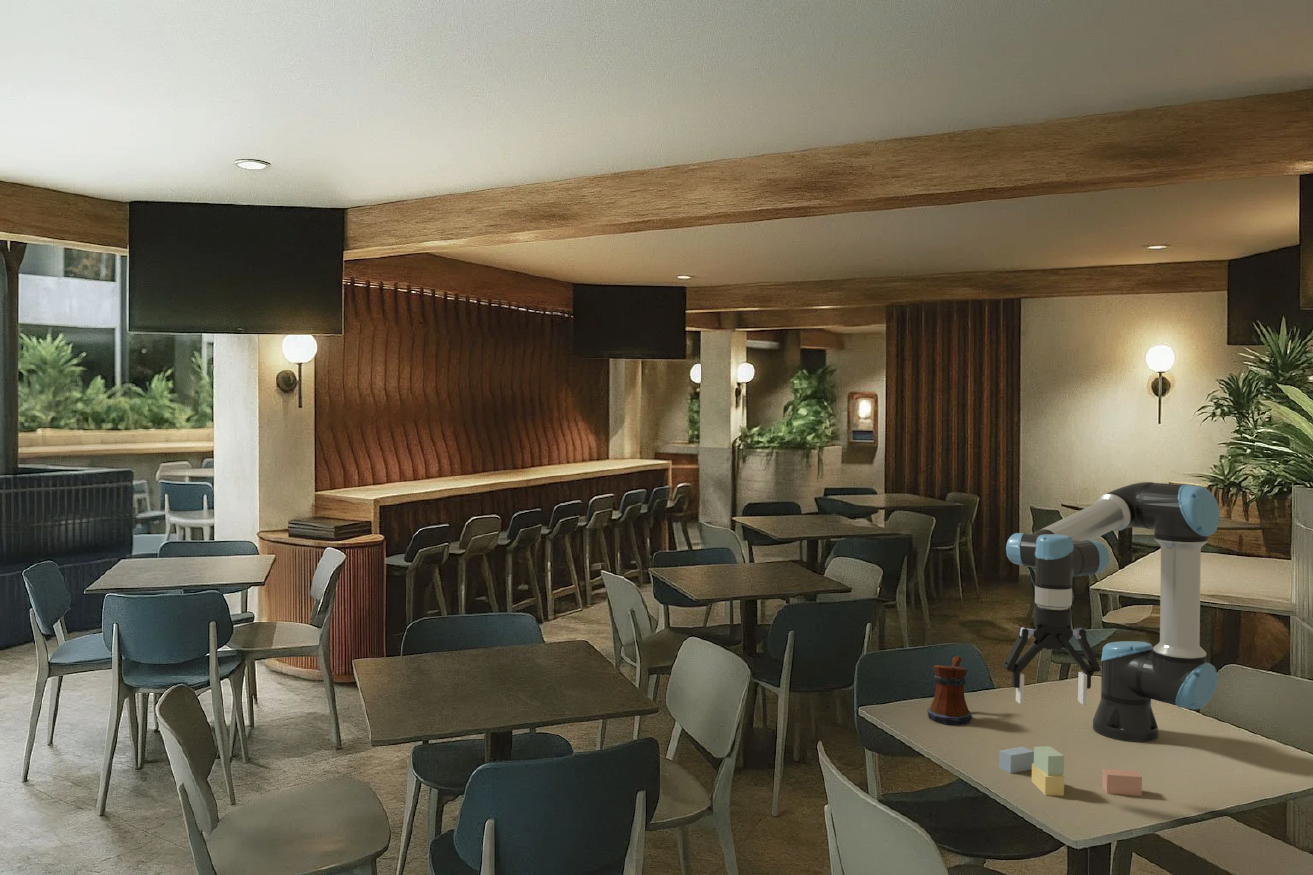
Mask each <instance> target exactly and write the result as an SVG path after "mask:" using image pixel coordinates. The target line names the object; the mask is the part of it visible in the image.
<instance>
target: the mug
mask: <svg viewBox="0 0 1313 875" xmlns="http://www.w3.org/2000/svg"><path fill="white" fill-rule="evenodd" d="M951 660H952V664H951V665H940V664H939V665H938V664H935V665H934V666H933V667H932V668H933V671H934V674H935V675H934V677H933V679H934V681H935V684H936V685H935V689H934V690H935V693H934V697H933V700H932V702H931V704H930V707H928V708H927V710H926V712H927V717H928V719H929V720H930V719H931V721H932V720H933V722H934V721H935V723H937V722H938V724H942V725H944V726H946V725H947V726H962V725H963V726H965V725H967V724H969V723H970V722H971V721H972V718H973V716H972V712H971V711H970V710H969V708H968V704H967V702H966V698H965V689H964V686H965V685H966V682H967V681H966V678H965V676H966V674H967V673H968V670H967V669H966V668H965V667H961V666H960V665H961V663H962V661H963V659H962V658H961V656H960V655H955V656H954V657H952V659H951ZM959 666H960V667H959Z"/></svg>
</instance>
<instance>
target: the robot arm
mask: <svg viewBox="0 0 1313 875" xmlns="http://www.w3.org/2000/svg"><path fill="white" fill-rule="evenodd" d="M1219 523H1220V508H1219V505H1218V501H1217V499H1216V497H1215V496H1214V494H1213V493H1212V491H1210V490H1209V489H1207V488H1206V487H1203V486H1197V485H1192V484H1183V483H1182V484H1181V483H1165V482H1152V481H1151V482H1150V481H1145V482H1144V481H1142V482H1137V483H1136V482H1135V483H1131V484H1128V485H1125V486H1121V487H1119V488H1116V489H1114V490H1111V491H1108V492H1107V493H1104V494H1102V495H1101V496H1099V497H1098V498H1097V499H1096V501H1095V503H1094V504H1092V505H1089V506H1086V507H1085V508H1083V509H1080V510H1078V511H1077V512H1074V513H1073V514H1070V515H1069V516H1066V517H1064V518H1062V519H1060V520H1057V521H1056V522H1054V523H1051V524H1049V525H1047V526H1045V527H1043V528H1041V529H1039V530H1037V531H1034V532H1031V533H1026V532H1021V533H1019V532H1015V533H1013V534H1012V535H1011V536H1010V537H1009V538H1008V539H1007V542H1006V544H1005V546H1006V547H1005V551H1006V557H1007V558H1008V560H1009V561H1010V562H1011V563H1012V564H1014V565H1019V566H1022V567H1026V568H1027V567H1028V568H1034V569H1035V581H1034V584H1035V585H1034V603H1035V604H1036V605H1035V606H1034V614H1033V615H1034V617H1033V621H1034V622H1033V623H1034V625H1033V628H1025V627H1024V626H1020V627H1019V628H1018V634H1017V635H1018V636H1017V638H1016V640H1015V642H1014V644H1013V645H1012V647H1011V649H1010V651H1009V653H1008V655H1007V657H1006V659H1005V661H1004V663H1003V666H1002V667H1003V668H1004V669H1005V670H1008V672H1011V685H1012V687H1013V688H1014V689H1015V701H1016V702H1017V703H1018V704H1019V705H1024V704H1025V703H1024V702H1025V701H1024V700H1025V674H1024V673H1023V672H1022V671H1023V670H1024V669H1026V667H1027V666H1028V665H1029V663H1031V662H1032V660H1033V659H1034V658H1035V657H1036V656H1037V654H1039V652H1041V651H1042V650H1043V649H1046V650H1057V651H1058V650H1062V649H1064V650H1065V651H1066V653H1067V654H1068V655H1069V656H1070V657H1071V659H1072V660H1073V661H1074V662H1075V663H1076V665H1077V666H1078V667H1079V668H1080V670H1082V671H1078V675H1077V676H1078V677H1077V678H1078V679H1077V680H1078V681H1077V682H1078V686H1077V702H1079V703H1080V704H1081V705H1083V706H1087V699H1088V698H1087V695H1088V692H1087V691H1088V690H1089V689H1091V687H1092V676H1093V675H1094V673H1096V672H1097V673H1098V672H1100V671H1101V672H1100V674H1101V680H1100V681H1101V682H1100V683H1101V684H1100V686H1101V687H1100V690H1101V691H1100V701H1099V704H1098V706H1097V708H1096V711H1095V713H1094V717H1093V718H1092V729H1093V731H1094V732H1096V733H1097V734H1100V735H1102V736H1105V737H1108V738H1112V739H1115V740H1121V741H1129V742H1149V741H1153V740H1156V739H1158V737H1159V728H1158V727H1159V726H1158V724H1157V721H1156V718H1155V714H1154V711H1153V708H1152V700H1153V701H1157V702H1162V703H1164V704H1165V703H1166V704H1169V705H1172V706H1176V707H1177V708H1180V709H1182V708H1184V709H1189V710H1200V709H1202V708H1204V707H1205V706H1206V705H1208V704H1209V702H1210V701H1211V699H1212V698H1213V697H1214V693H1215V691H1216V689H1217V684H1218V671H1217V669H1216V667H1215V666H1214V665H1213V664H1211V663H1210V662H1207V652H1206V651H1205V649H1203V648H1202V647H1201V646H1200V645H1201V644H1200V641H1201V640H1200V638H1201V636H1200V635H1201V634H1200V633H1201V630H1200V629H1201V628H1200V627H1201V623H1200V622H1201V620H1200V619H1201V562H1202V561H1201V556H1202V555H1201V552H1202V551H1201V550H1202V547H1203V546H1204V545H1207V543H1208V542H1209V536H1212V535H1213V534H1215V532H1216V531H1217V529H1218V525H1219ZM1129 528H1135V529H1136V528H1137V529H1138V528H1139V529H1148V530H1152V531H1153V539H1154V541H1156V542H1157V543H1158V544H1159V545H1160V589H1159V590H1160V596H1159V598H1160V601H1159V603H1160V605H1159V609H1160V610H1159V612H1160V614H1159V616H1160V617H1159V642H1158V643H1157V644H1155V645H1154V646H1153V644H1151V643H1149V642H1146V641H1136V640H1135V641H1128V640H1126V641H1125V640H1123V641H1112V642H1108V643H1106V644H1105V645H1103V647H1102V652H1101V659H1100V661H1101V666H1100V664H1099V662H1098V660H1097V658H1096V656H1095V654H1094V651H1093V650H1092V648H1091V646H1090V644H1089V641H1088V639H1087V630H1086V629H1084V628H1081V627H1079V626H1078V627H1076V628H1072V613H1073V610H1072V609H1071V608H1070V607H1071V606H1072V604H1073V577H1082V576H1093V575H1096V574H1099V573H1102V572H1103V571H1105V570H1106V568H1108V565H1109V562H1110V554H1109V550H1108V549H1107V547H1106V546H1105V545H1104V544H1103V543H1102V542H1100V541H1098V540H1095V539H1097V538H1099V537H1101V536H1103V535H1105V534H1107V533H1110V532H1111V531H1113V532H1118V531H1119V532H1120V531H1123V530H1125V529H1129ZM1031 636H1033V638H1034V640H1033V641H1032V642H1031V643H1030V646H1029V647H1028V648H1027V649H1026V650H1025V651H1024V653H1022V652H1023V650H1024V648H1025V646H1026V644H1027V642H1028V640H1029V639H1030V638H1031ZM1073 636H1074V638H1075V639H1077V642H1078V643H1079V644H1078V645H1079V646H1080V648H1081V651H1082V652H1083V654H1084V657H1085V659H1086V660H1087V663H1088V664H1087V663H1086V661H1085V660H1084V659H1083V658H1082V656H1080V654H1079V653H1078V652H1077V650H1075V647H1074V646H1073V645H1072V643H1070V642H1069V641H1070V640H1071V638H1072V637H1073ZM1021 654H1022V655H1021Z"/></svg>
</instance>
